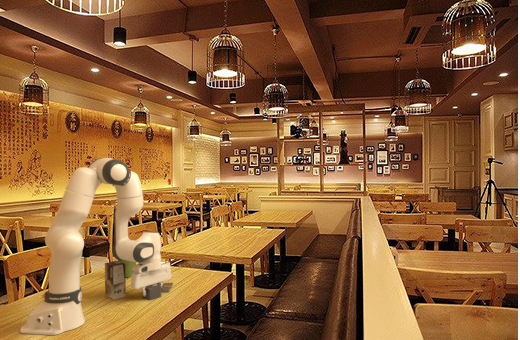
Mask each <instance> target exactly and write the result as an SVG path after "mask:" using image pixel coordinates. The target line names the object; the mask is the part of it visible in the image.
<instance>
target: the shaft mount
mask: <svg viewBox="0 0 520 340" xmlns="http://www.w3.org/2000/svg"><path fill="white" fill-rule="evenodd" d="M156 284H157V285H159V283H156ZM173 285H174V282H163V285H162V287H161V294H162V293H165V294H166V293H170V291H171V289H172V288H173Z"/></svg>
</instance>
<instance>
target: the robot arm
mask: <svg viewBox="0 0 520 340" xmlns="http://www.w3.org/2000/svg"><path fill="white" fill-rule="evenodd" d="M101 184H105V185H112V186H114V189H115V191H116V194H115V195H116V207H115V210H114V215H113V230H114V231H113V233H114V234H113V235H114V236H113V245H112V255H113V257H114V258H115V260H116V261H118V260H120V261H130V262H136V265H134V266H133V267H132V270H133V271H134V272H133V273H132V275H131V277H130V286H131V288H132V289H134V290H139V289H140V290H141V292H142V297H143V296H146V295H148V294H147V293H148V292H147V291H145V287H146V286H149V285H153V284H156V283H159V286H161V287H162V285H163V283H164V282H166V281H169V280H171V278H172V270H171V263H170V261H168V260H165V261H162V255H161V251H162V241H161V239H162V238H161V235H160V232H158V231H156V230H155V231H153V230H145V231H143V232H142V234H141V236H140V237H138V238H137V239H135V240H133V239H130V237H129V220H130V218H131V217H133V216H136V215H137V214H139V212H140V211H141V210H142V209H143V207H144V194H143V189H142V184H141V180H140V176H139V175H138V174H137V173H136V172H135V171H131V170H130V169H129V167H128V166H127V164H126V163H125V162H124V161H123V160H120V159H117V158H115V159H114V158H111V157H100V158H96V159H94V160H93V161H91V163H90V164H89V165H87V167H86V166H85V167H84V166H80V167H78V168H76V169H75V170H74V171H73V173H72V174H71V176H70V178H69V180H68V182H67V184H66V188H65V190H64V193H63V196H62V199H61V201H60V205H59V208H58V210H57V212H56V214H55V215H54V217H53V220H52V221H51V223H50V226H49V228H48V230H47V232H46V233H45V237H44V241H45V242H44V243H45V246H46V247H47V248H48V249H49V250H50V263H49V269H48V289H47V291H45V292H44V294H42V295H41V296H42V297H41V298H42V299H44V300H42V301H41V302H40V304H38V305H37V306H35V308H33V309H32V310H31V311H30V312H29V314H28V317H27V321H26V322H25V323H24V324H23V325H22V326H21V327H20V330H19V331H20V334H28V335H45V336H46V335H47V336H48V335H49V336H56V335H59V334H61V333H64V332H68V331H71V330H75V329H77V328H79V327H81V326H82V325H84V324H85V323H86V319H85V316H84V311H83V307H82V301H83V300H82V299H83V293H82V286H81V262H82V258H83V249H84V246H85V242H84V241H85V240H84V238H83V236H82V234H81V233H80V229H81V228H82V227H83V226H82V225H83V223H84V222H85V221H86V219H87V217H88V216H89V213H90V210H91V208H92V205H93V202H94V199H95V195H96V191H97V189H98V188H99V186H101Z"/></svg>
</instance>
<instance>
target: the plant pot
mask: <svg viewBox="0 0 520 340" xmlns="http://www.w3.org/2000/svg"><path fill="white" fill-rule="evenodd" d="M117 261H119V262H122V263H125V279H127V278H131V275H132V273H133V272H134V271H133V270H132V267H133V266H134V265H136V264H137V262H130V261H120V260H117Z"/></svg>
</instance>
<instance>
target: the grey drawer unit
mask: <svg viewBox="0 0 520 340" xmlns="http://www.w3.org/2000/svg"><path fill="white" fill-rule="evenodd" d="M145 291H147V292H148V293H147V294H148V295H146V296H143V295H142V298H143V299H146V300H148V301H152V300H156V299H159V298H161V297H162V293H161V286H159V285H157V284H153V285H149V286H146V287H145Z"/></svg>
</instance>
